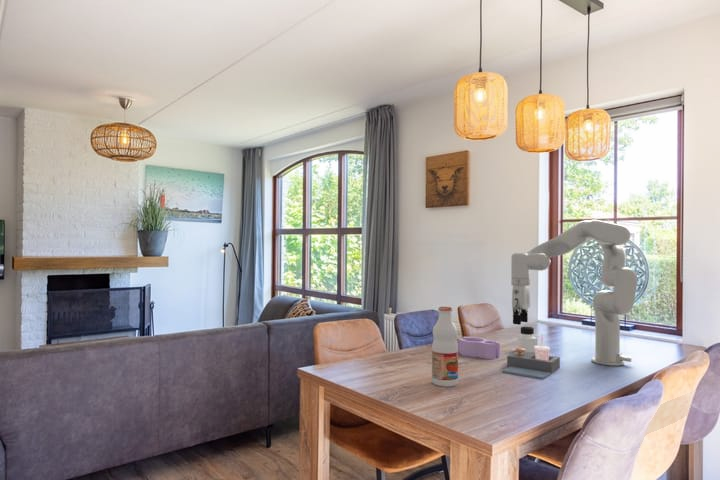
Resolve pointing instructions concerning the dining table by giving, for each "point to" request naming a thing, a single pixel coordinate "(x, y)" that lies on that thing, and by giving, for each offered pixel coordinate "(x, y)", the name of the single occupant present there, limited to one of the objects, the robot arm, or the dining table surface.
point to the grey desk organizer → (533, 362)
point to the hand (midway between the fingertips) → (520, 322)
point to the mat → (526, 372)
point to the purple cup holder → (478, 347)
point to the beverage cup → (542, 351)
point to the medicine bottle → (527, 339)
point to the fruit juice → (445, 350)
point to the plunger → (520, 350)
